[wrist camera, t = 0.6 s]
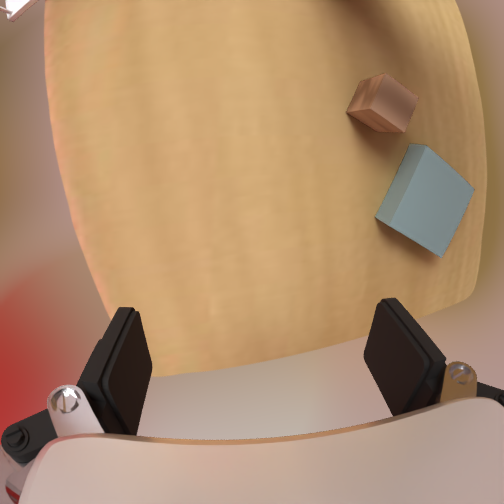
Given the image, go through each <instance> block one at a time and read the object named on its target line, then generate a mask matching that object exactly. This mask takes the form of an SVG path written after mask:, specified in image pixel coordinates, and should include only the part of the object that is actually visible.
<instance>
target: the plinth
mask: <svg viewBox="0 0 504 504" xmlns="http://www.w3.org/2000/svg"><path fill="white" fill-rule="evenodd" d="M474 190H475V189H474V188H473V187H472V186H471V185H470V184H469V183H468V182H467V181H466V180H465V179H464V178H463V177H462V176H461V175H459V174H458V173H457V172H456V171H455V170H454V169H453V168H452V167H451V166H450V165H449V164H448V163H446V162H445V161H444V160H443V159H442V158H441V157H440V156H438V155H437V154H436V153H435V152H434V151H433V150H431V149H430V148H429V147H428V146H427V145H419V144H411V143H410V145H409V147H408V149H407V152H406V154H405V156H404V158H403V161H402V163H401V165H400V167H399V169H398V171H397V174H396V176H395V178H394V180H393V182H392V184H391V186H390V188H389V190H388V192H387V194H386V196H385V198H384V200H383V202H382V204H381V206H380V208H379V210H378V212H377V214H376V216H375V217H376V218H377V219H379V220H380V221H382V222H384V223H385V224H387V225H388V226H390V227H392V228H393V229H395V230H397V231H398V232H400V233H402V234H404V235H405V236H407V237H408V238H410V239H412V240H413V241H415V242H417V243H418V244H420V245H421V246H423V247H425V248H426V249H428V250H429V251H431V252H433V253H434V254H436V255H437V256H439V257H440V258H442V256H443V255H444V253H445V251H446V249H447V247H448V245H449V243H450V241H451V239H452V237H453V236H454V234H455V232H456V229H457V227H458V225H459V223H460V221H461V219H462V217H463V215H464V213H465V210H466V208H467V206H468V204H469V201H470V199H471V197H472V194H473V192H474Z"/></svg>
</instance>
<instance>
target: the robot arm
mask: <svg viewBox="0 0 504 504" xmlns="http://www.w3.org/2000/svg"><path fill="white" fill-rule="evenodd" d="M364 360H365V362H366V364H367V366H368V368H369V370H370V372H371V374H372V376H373V378H374V380H375V381H376V383H377V385H378V387H379V389H380V391H381V393H382V395H383V397H384V399H385V401H386V403H387V405H388V407H389V409H390V411H391V413H392V415H393V417H390V418H386V419H382V420H378V421H374V422H370V423H365V424H361V425H356V426H351V427H346V428H341V429H335V430H329V431H323V432H317V433H310V434H302V435H294V436H284V437H275V438H260V439H242V440H191V439H189V440H188V439H170V438H155V437H144V436H136V435H137V430H138V426H139V422H140V417H141V413H142V409H143V405H144V401H145V397H146V392H147V389H148V385H149V381H150V377H151V373H152V361H151V357H150V354H149V350H148V346H147V342H146V338H145V334H144V330H143V326H142V322H141V317H140V313H139V312H138V311H135V309H134V308H133V307H119V308H118V310H117V312H116V313H115V315H114V317H113V319H112V321H111V323H110V324H109V327H108V328H107V330H106V332H105V334H104V336H103V338H102V339H100V340H99V341H98V343H97V345H96V346H95V349H94V351H93V352H92V354H91V356H90V358H89V360H88V362H87V364H86V366H85V368H84V370H83V372H82V374H81V377H80V379H79V381H78V383H77V385H76V386H73V385H64V386H60V387H58V388H56V389H55V390H54V391H53V392H51V394H50V395H49V397H48V400H47V407H48V409H45V410H43V411H41V412H39V413H37V414H35V415H32V416H30V417H28V418H26V419H24V420H21V421H19V422H17V423H15V424H12V425H10V426H9V427H7V429H6V430H5V431H4V432H3V435H2V438H1V443H2V445H0V504H504V390H501V389H498V388H495V387H492V386H489V385H486V384H483V383H480V382H477V375H476V372H475V370H474V369H473V368H472V367H471V366H469V365H468V364H466V363H464V362H459V361H456V362H451V363H449V364H448V365H446V364H445V361H446V357H445V356H444V355H443V354H442V352H441V351H440V350H439V348H438V347H437V346H436V345H435V343H434V342H433V341H432V340H431V339H430V337H429V336H428V335H427V334H426V333H425V331H424V330H423V329H422V328H421V326H420V325H419V324H418V323H417V322H416V321H415V319H414V318H413V317H412V316H411V315H410V313H409V312H408V311H407V310H406V309H405V308H404V307H403V305H402V304H401V303H400V302H399V301H398V300H397V299H396V298H386V299H382V300H381V302H380V303H378V304H377V307H376V311H375V315H374V318H373V322H372V326H371V330H370V333H369V337H368V340H367V344H366V347H365V350H364Z"/></svg>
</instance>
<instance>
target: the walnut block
mask: <svg viewBox="0 0 504 504" xmlns="http://www.w3.org/2000/svg"><path fill="white" fill-rule="evenodd" d="M418 99H419V98H418V97H417V96H416V95H414V94H413V93H412V92H411V91H409V90H408V89H407V88H406V87H404V86H403V85H402V84H400V83H399V82H398V81H396V80H395V79H393V78H392V77H391V76H389V75H388V74H386V73H384V74H381V75H378V76H375V77H372V78H369V79H367V80H364V81H361V82H360V83H359V85H358V87H357V90H356V92H355V94H354V96H353V98H352V100H351V103H350V105H349V107H348V109H347V111H346V113H348V114H349V115H351V116H353V117H354V118H356V119H358V120H359V121H361V122H362V123H364V124H365V125H367V126H369V127H370V128H372V129H373V130H375V131H376V132H401V133H405V131H406V128H407V126H408V124H409V121H410V119H411V116H412V114H413V111H414V109H415V106H416V104H417V101H418Z"/></svg>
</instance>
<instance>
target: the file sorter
mask: <svg viewBox="0 0 504 504" xmlns="http://www.w3.org/2000/svg"><path fill="white" fill-rule="evenodd" d="M37 1H38V0H6V9H5V8H3V7H1V6H0V11H2V12H5V13H7V18H8V20H10V21H12V22H13V21H15V20H16V19H17V18H18V17H19V16H20V15H21V14H23V13H24V12H25V11H26V10H27V9H28V8H30V7H31V6H32V5H33V4H35V3H36V2H37Z"/></svg>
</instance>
